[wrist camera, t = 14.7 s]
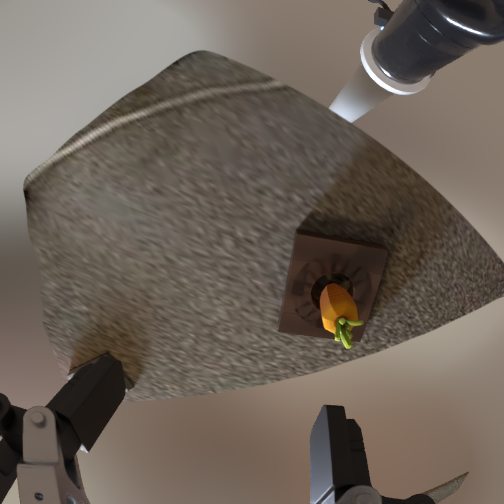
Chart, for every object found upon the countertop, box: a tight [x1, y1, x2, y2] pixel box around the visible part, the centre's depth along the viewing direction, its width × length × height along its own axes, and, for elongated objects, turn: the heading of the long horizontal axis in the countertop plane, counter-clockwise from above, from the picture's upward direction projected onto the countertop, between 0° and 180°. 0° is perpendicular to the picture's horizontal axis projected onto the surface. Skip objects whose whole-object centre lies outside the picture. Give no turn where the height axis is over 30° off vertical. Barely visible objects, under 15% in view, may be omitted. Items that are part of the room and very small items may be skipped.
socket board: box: [278, 229, 389, 342], centre depth 42 cm, size 16×14×3 cm
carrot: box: [320, 283, 364, 348], centre depth 36 cm, size 5×5×15 cm
